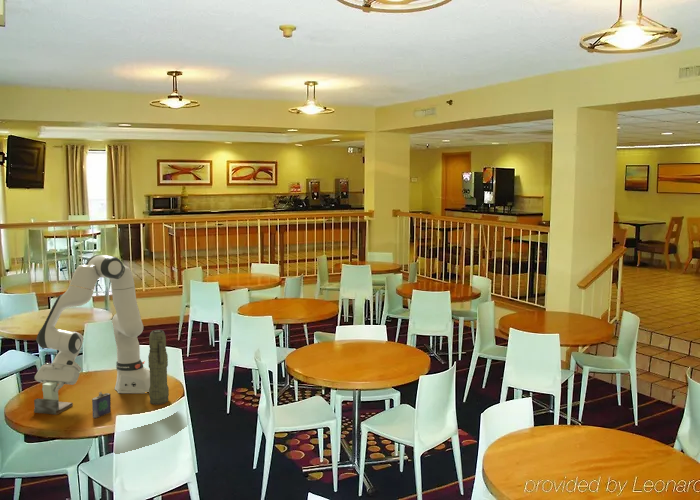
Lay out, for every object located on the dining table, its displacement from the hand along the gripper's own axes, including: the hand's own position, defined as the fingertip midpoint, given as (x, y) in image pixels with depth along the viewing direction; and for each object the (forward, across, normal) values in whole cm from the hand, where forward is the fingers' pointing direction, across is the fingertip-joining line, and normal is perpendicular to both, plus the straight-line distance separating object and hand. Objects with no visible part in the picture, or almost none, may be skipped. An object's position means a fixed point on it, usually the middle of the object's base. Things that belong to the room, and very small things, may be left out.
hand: (49, 391), depth 272 cm
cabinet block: (+4, 0, +5) cm, 6 cm away
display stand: (+5, 0, +8) cm, 10 cm away
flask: (+6, +26, +7) cm, 28 cm away
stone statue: (-8, +43, +22) cm, 49 cm away
